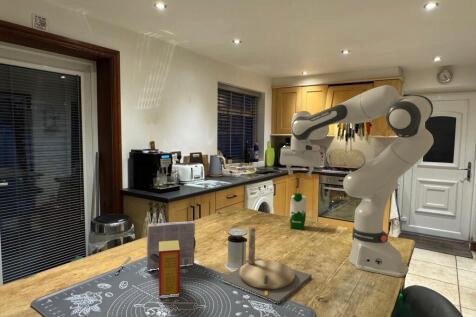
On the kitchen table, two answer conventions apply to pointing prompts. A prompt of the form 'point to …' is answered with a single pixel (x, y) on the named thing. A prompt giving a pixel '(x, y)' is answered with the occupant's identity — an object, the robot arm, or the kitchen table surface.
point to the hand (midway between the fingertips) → (299, 175)
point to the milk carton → (297, 211)
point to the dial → (264, 270)
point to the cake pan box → (169, 233)
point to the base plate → (271, 294)
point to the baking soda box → (169, 267)
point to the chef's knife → (126, 261)
